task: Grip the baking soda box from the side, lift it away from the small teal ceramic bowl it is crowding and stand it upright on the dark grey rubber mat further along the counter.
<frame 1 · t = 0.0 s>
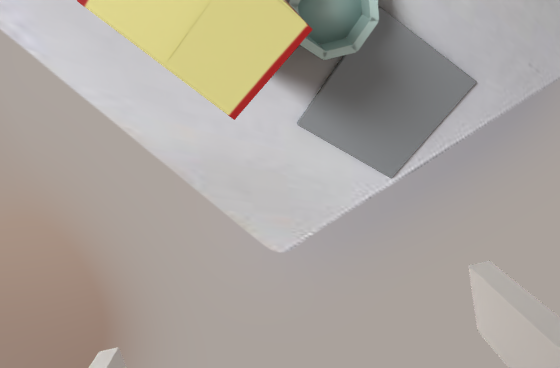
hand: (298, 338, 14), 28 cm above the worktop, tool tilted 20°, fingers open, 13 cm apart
mat: (384, 101, 40), on the worktop
bowl: (326, 6, 34), on the worktop
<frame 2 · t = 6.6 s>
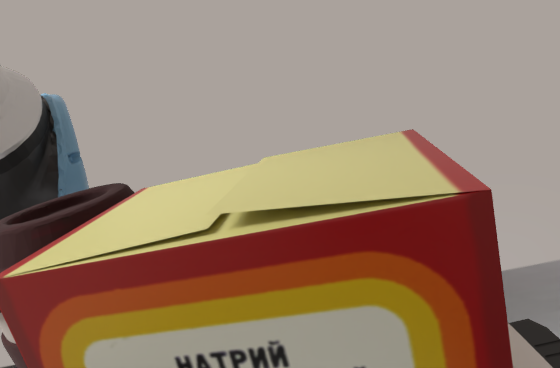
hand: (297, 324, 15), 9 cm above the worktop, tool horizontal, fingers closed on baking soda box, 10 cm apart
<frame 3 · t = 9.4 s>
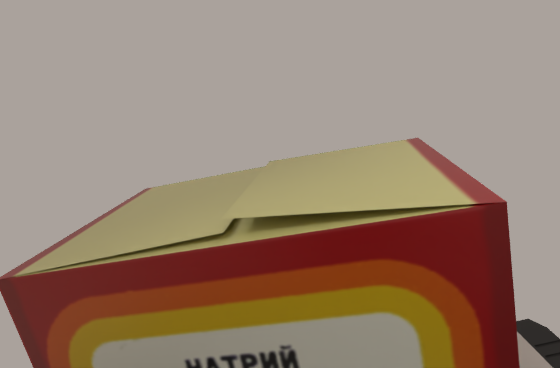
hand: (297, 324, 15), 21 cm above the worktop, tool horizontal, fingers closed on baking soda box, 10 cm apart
when the fingers open (11 cm above the worktop, at t = 11.9 s): baking soda box drops 1 cm, resting on mat.
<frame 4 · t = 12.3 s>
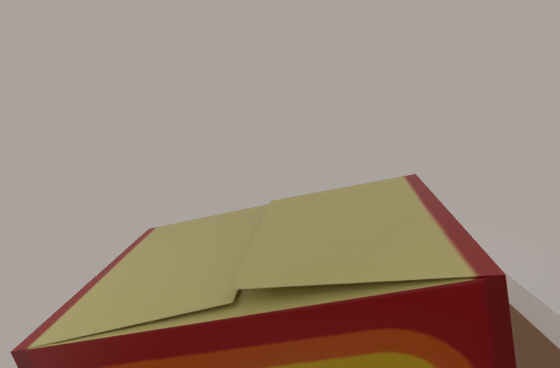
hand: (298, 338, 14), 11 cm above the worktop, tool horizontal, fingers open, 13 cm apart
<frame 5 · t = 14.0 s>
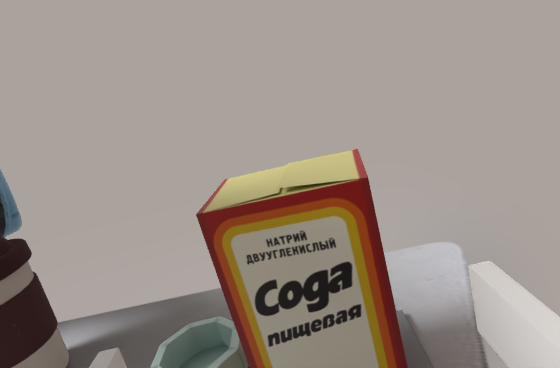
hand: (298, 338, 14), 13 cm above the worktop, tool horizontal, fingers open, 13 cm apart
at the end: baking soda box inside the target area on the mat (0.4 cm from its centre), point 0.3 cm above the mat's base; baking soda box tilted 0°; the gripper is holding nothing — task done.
